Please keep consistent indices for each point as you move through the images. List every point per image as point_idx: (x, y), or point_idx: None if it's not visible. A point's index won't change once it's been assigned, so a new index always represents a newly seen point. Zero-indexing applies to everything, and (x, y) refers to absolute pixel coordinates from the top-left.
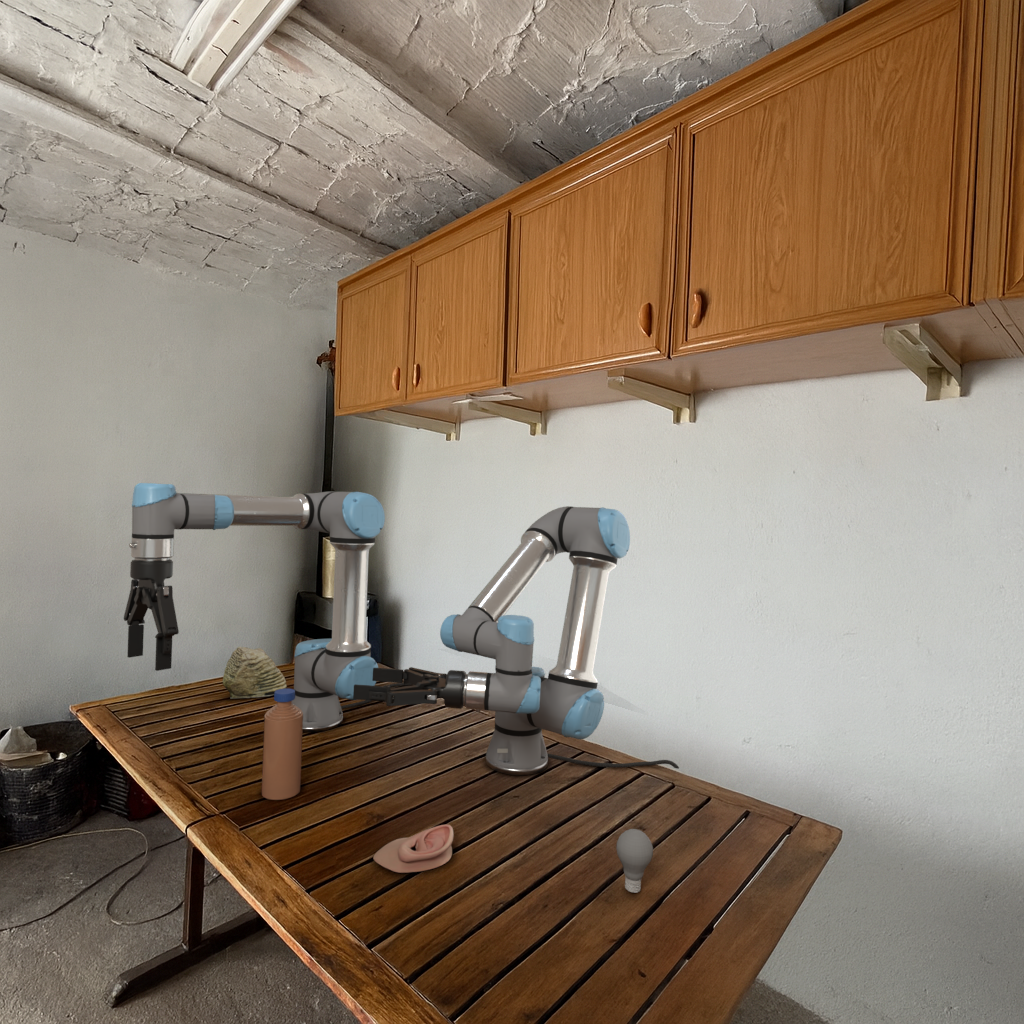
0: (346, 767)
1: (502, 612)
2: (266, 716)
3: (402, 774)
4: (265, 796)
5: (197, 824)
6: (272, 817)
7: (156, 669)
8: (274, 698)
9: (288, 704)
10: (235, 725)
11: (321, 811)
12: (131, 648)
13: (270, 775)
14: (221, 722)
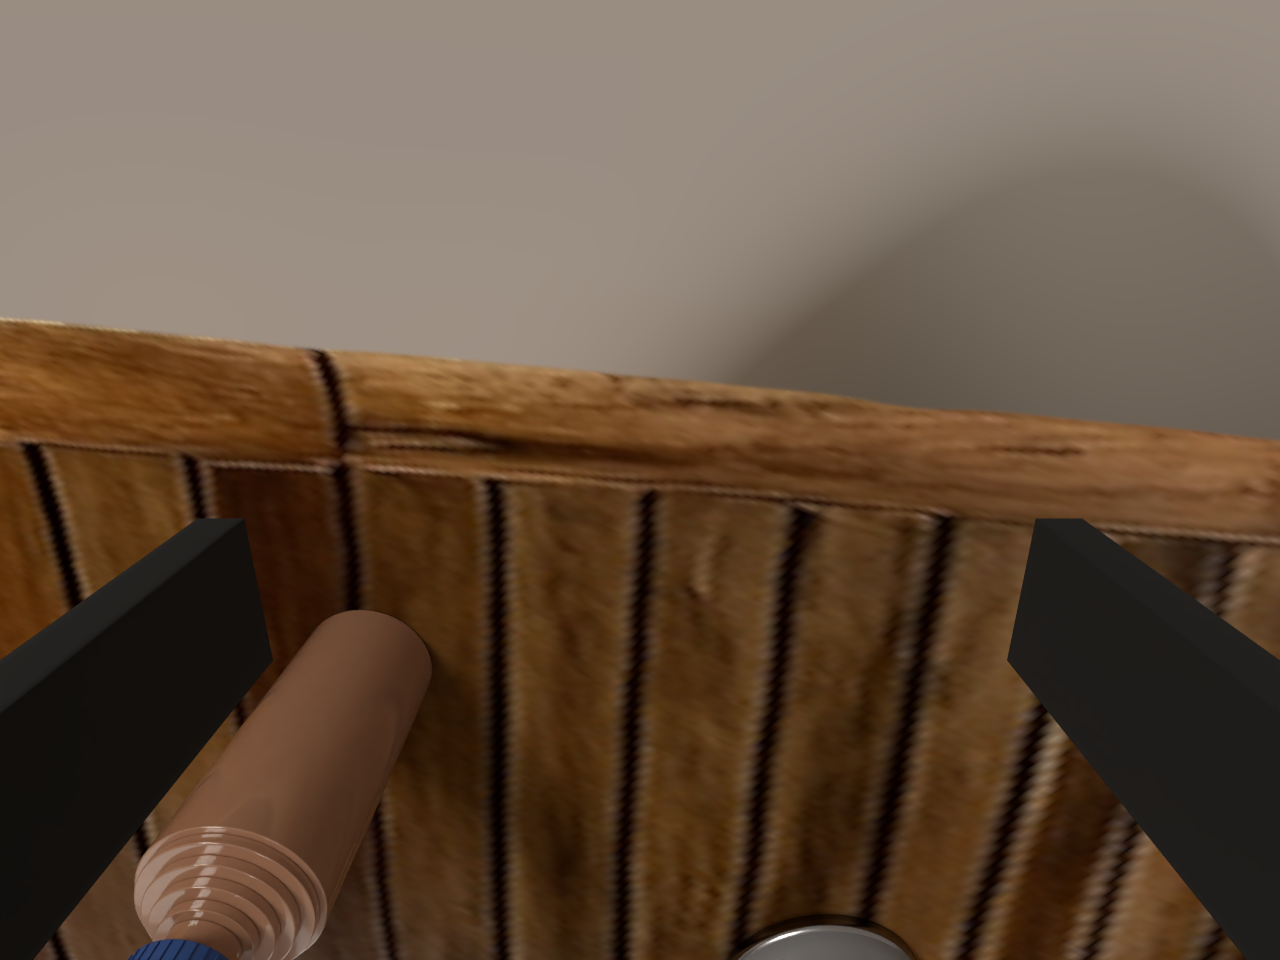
0: (401, 869)
1: None
2: (236, 837)
3: None
4: (350, 612)
5: (309, 376)
6: None
7: (199, 524)
8: (190, 951)
9: None
10: (1026, 819)
11: None
12: (1094, 599)
13: (300, 662)
14: (1100, 802)
